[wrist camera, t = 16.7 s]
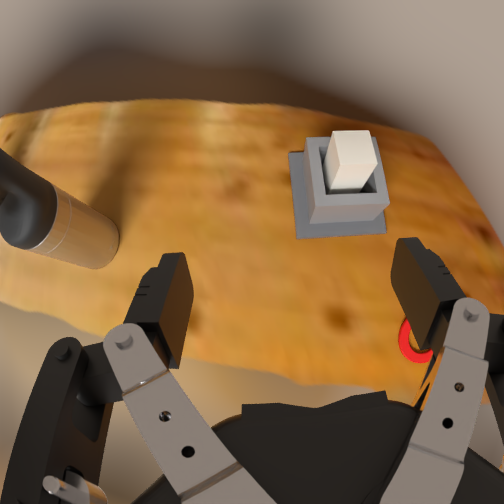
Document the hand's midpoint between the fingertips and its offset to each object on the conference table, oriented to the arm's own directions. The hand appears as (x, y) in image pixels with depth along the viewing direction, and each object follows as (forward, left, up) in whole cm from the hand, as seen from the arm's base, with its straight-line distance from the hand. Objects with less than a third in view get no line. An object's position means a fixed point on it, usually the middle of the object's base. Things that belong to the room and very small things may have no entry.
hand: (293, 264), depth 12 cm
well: (+10, +16, -35) cm, 39 cm away
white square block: (+10, +16, -34) cm, 39 cm away
